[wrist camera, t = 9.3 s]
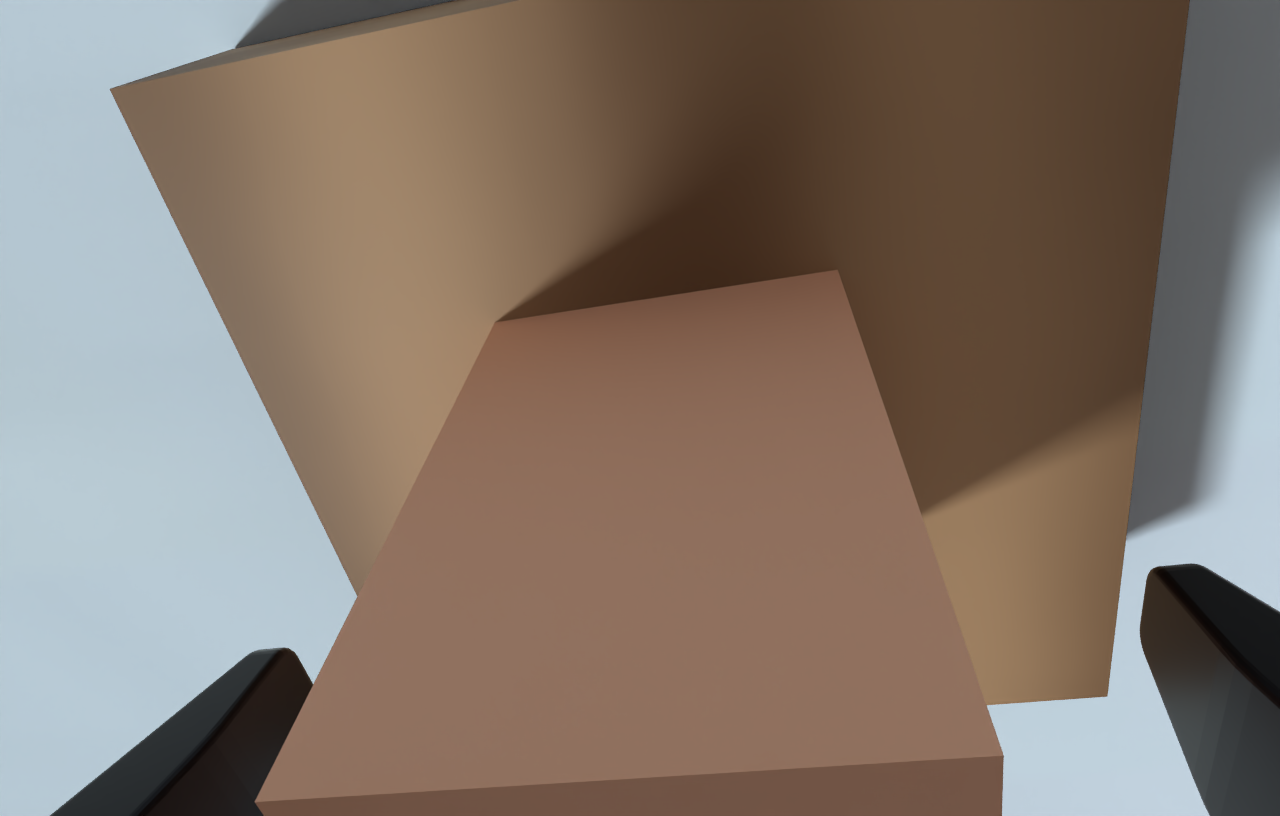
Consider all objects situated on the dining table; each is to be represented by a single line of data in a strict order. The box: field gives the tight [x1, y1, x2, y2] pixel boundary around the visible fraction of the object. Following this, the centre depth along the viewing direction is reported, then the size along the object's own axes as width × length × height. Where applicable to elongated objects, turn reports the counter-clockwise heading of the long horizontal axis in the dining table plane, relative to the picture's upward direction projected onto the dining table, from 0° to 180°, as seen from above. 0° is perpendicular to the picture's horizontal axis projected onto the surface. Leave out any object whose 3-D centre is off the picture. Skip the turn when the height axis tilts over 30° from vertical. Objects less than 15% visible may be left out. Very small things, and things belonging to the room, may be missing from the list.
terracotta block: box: [255, 270, 1004, 816], centre depth 9 cm, size 4×4×7 cm
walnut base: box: [110, 0, 1190, 705], centre depth 13 cm, size 12×12×3 cm
